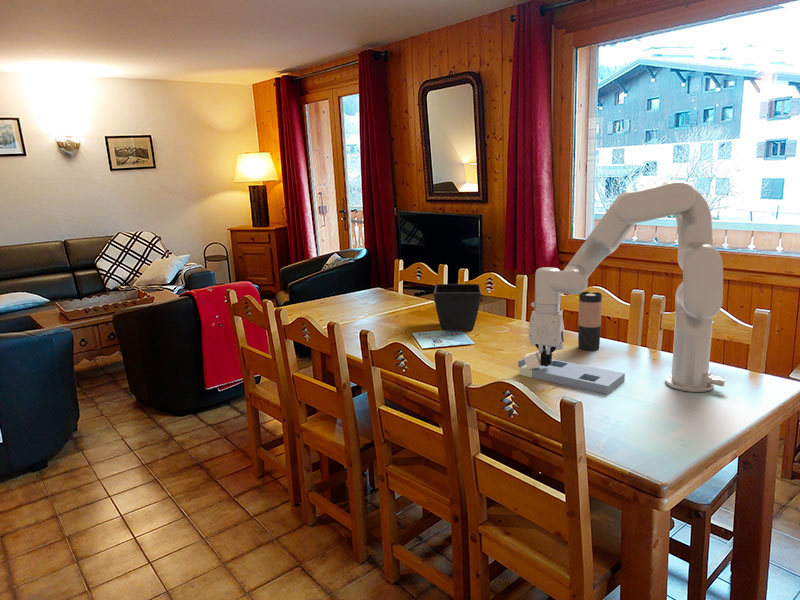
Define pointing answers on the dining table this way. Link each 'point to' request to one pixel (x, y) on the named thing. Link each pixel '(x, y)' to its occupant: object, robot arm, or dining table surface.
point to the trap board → (575, 375)
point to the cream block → (532, 360)
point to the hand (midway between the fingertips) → (545, 364)
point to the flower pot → (457, 305)
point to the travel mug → (589, 321)
